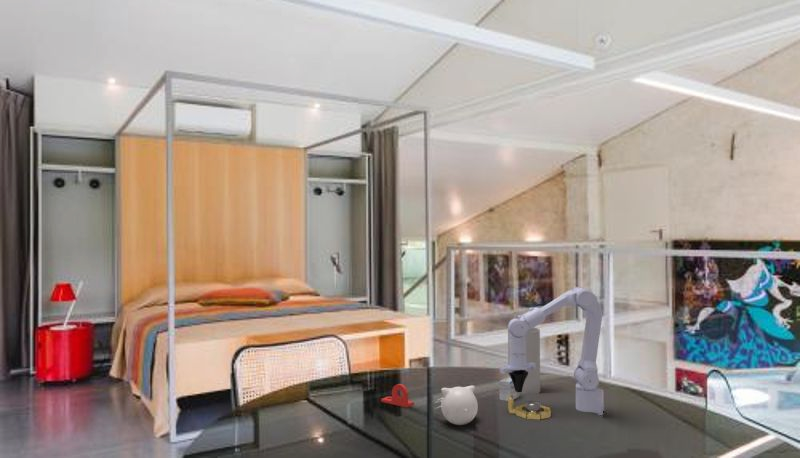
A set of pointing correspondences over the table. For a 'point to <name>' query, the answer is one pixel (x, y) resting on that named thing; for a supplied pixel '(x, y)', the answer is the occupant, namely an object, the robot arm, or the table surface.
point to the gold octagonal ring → (521, 412)
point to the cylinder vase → (531, 361)
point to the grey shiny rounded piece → (532, 406)
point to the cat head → (459, 404)
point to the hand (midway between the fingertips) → (518, 391)
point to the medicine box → (507, 389)
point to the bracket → (398, 397)
